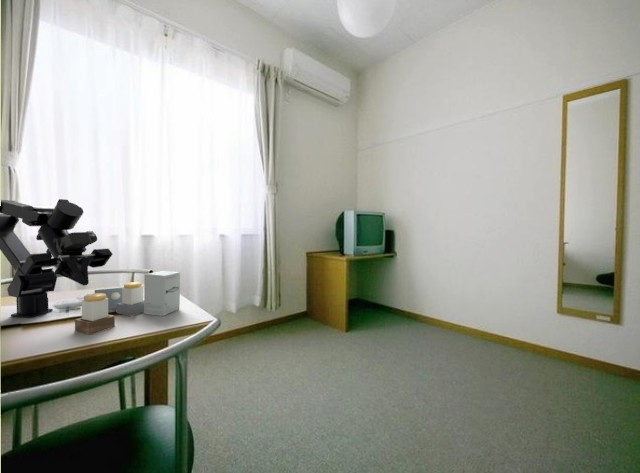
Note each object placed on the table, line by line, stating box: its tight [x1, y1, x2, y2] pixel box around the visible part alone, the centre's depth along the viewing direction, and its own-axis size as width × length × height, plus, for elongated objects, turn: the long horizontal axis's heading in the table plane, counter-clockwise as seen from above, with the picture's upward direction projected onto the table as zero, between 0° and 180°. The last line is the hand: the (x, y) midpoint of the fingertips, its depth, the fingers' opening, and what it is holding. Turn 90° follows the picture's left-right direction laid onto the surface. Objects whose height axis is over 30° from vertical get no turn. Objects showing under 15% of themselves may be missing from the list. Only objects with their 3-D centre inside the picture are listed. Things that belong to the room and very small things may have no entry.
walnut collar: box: [74, 314, 116, 336], centre depth 75 cm, size 6×6×3 cm
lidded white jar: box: [81, 293, 109, 321], centre depth 75 cm, size 5×5×6 cm
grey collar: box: [116, 299, 144, 317], centre depth 89 cm, size 6×6×3 cm
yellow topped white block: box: [121, 281, 144, 305], centre depth 89 cm, size 5×5×6 cm
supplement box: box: [143, 270, 181, 317], centre depth 90 cm, size 7×7×13 cm
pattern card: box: [94, 286, 123, 312], centre depth 90 cm, size 2×7×7 cm, turn 126°
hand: (86, 284), depth 76 cm, fingers closed
